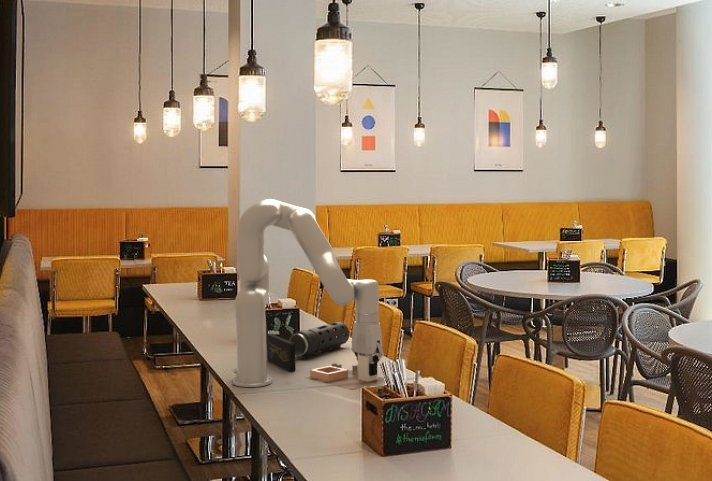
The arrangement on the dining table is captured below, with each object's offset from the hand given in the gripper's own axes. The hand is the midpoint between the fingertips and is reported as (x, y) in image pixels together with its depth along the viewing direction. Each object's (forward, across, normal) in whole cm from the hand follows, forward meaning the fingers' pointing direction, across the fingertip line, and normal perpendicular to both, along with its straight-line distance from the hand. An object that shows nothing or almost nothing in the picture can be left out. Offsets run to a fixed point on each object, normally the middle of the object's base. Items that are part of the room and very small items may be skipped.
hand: (367, 373), depth 289 cm
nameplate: (+3, -39, -5) cm, 39 cm away
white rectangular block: (+2, 0, 0) cm, 2 cm away
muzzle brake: (+3, -46, +19) cm, 50 cm away
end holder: (+3, -11, -7) cm, 13 cm away
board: (+3, -5, -4) cm, 7 cm away
